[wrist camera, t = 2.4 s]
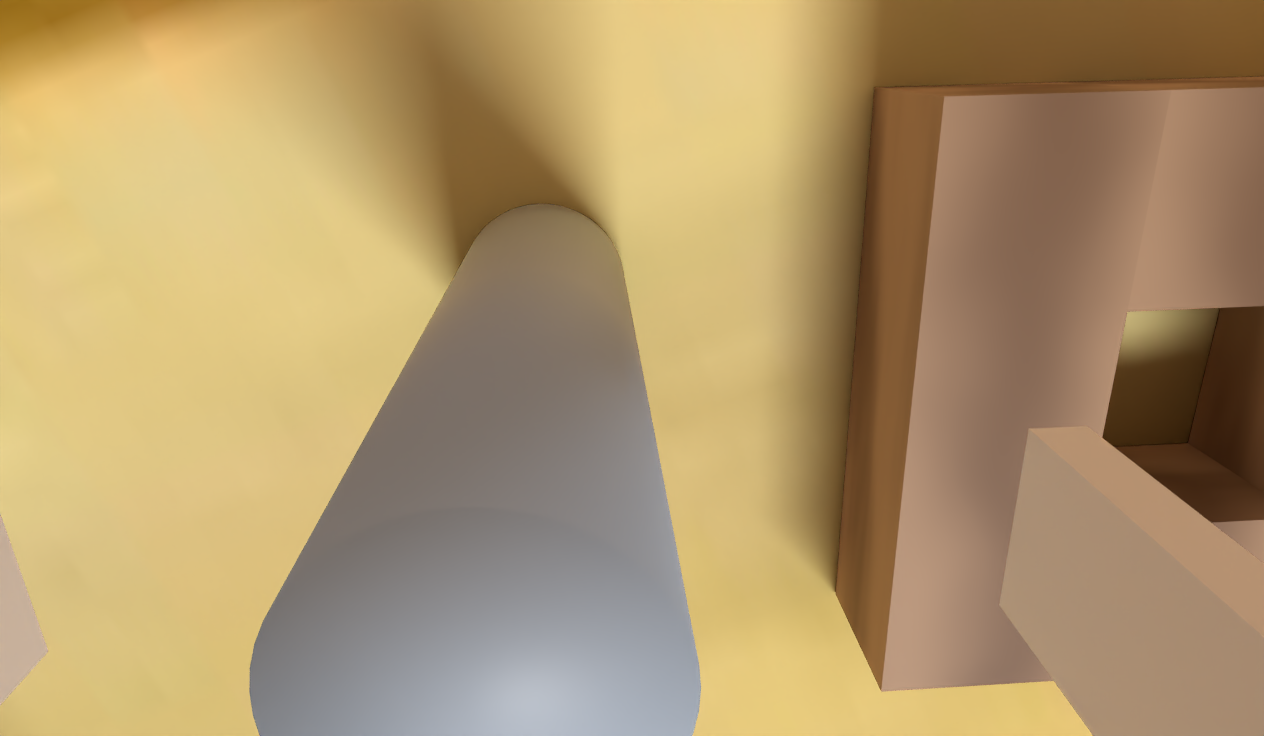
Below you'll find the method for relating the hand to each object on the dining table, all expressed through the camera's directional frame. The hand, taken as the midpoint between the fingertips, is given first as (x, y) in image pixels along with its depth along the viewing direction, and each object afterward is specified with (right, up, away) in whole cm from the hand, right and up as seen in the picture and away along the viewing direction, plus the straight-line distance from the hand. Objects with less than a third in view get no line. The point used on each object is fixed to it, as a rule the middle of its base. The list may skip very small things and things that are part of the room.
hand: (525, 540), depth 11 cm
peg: (-1, +5, +13) cm, 13 cm away
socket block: (+16, +2, +14) cm, 22 cm away
